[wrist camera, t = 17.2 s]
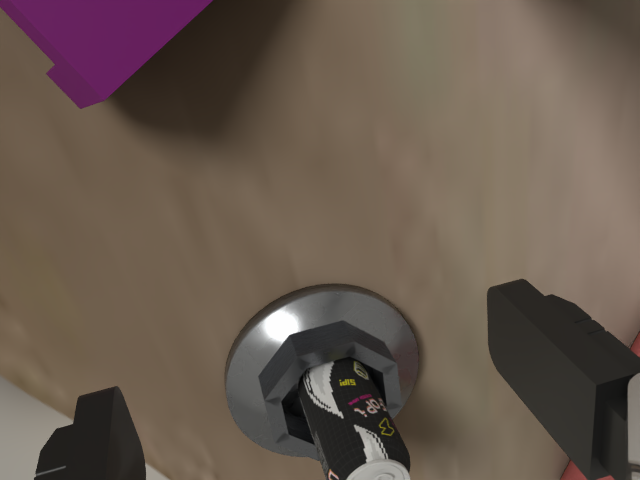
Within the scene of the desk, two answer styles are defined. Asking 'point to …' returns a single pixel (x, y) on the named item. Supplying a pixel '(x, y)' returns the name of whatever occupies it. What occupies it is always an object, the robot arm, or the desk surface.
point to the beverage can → (351, 423)
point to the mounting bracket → (99, 38)
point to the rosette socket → (314, 359)
